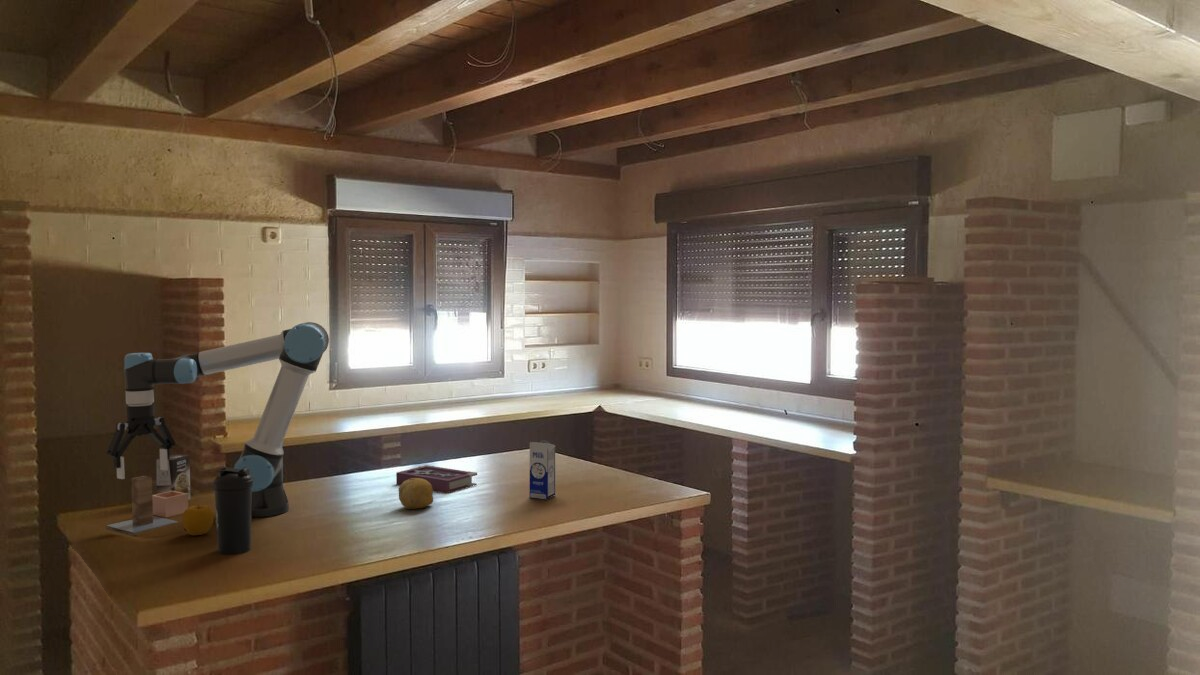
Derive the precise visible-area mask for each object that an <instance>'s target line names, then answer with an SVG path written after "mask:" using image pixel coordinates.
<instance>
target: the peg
mask: <svg viewBox="0 0 1200 675" xmlns="http://www.w3.org/2000/svg"><path fill="white" fill-rule="evenodd" d="M130 479H131V509H132V510H131V512H132V513H131V515H132V516H131V517H132V519H131V520H132V521H133V524H135V525H139V526H142V525H146V524H151V523H153V516H154V515H153V499H152V495H153V477H151V476H147V475H141V476H136V477H131V478H130Z"/></svg>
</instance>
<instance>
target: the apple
mask: <svg viewBox="0 0 1200 675" xmlns="http://www.w3.org/2000/svg"><path fill="white" fill-rule="evenodd" d="M214 515H215V514H214V511H213V509H212V507H210V505H208V504H207V505H206V504H200V505H192V506H188V508H187V509H186V510H185V511H184V513H183V514H182V518H181V521H182V525H183V528H184V529H185V530H186V532H187V533H188V534H189V535H191V536H193V537H195V536H201V535H205V534H207V533H208V532H209V531H210V529H211V527H212V525H213V524H214V518H215V516H214Z"/></svg>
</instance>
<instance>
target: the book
mask: <svg viewBox="0 0 1200 675" xmlns="http://www.w3.org/2000/svg"><path fill="white" fill-rule="evenodd" d="M476 476H478V472H475V471H471V470H470V471H469V470H460V469H455V468H454V469H453V468H447V467H440V466H434V465H429V464H424V465H421V466H420V465H419V466H418V467H414V468H410V469H405V470H402V471H397V472H396V480H395V481H396V485H398V486H400V485H401V484H402V483H403V482H404V481H406V480H408V479H411V478H421V479H425V480H427V481H428V482H429V483H430V484H431V485H432V488H433V492H440V493H445V494H451V493H453V492H456V491H460V490H464V489H466V487H467V488H471V487H474V486H477V485H478V484H477V483H476V482H473V479H472V478H473V477H476ZM473 485H474V486H473ZM470 486H471V487H470ZM463 488H464V489H463Z"/></svg>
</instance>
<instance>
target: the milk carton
mask: <svg viewBox="0 0 1200 675" xmlns="http://www.w3.org/2000/svg"><path fill="white" fill-rule="evenodd" d="M553 495H555V496H556V445H555V444H552V443H550V441H549V440H544V439H543V440H542V439H541V440H540V442H537V441H529V498H530V497H532V498H531V499H534V498H541V499H540V500H543V499H548V498H550V497H551V496H553ZM542 498H543V499H542ZM550 499H551V498H550ZM548 500H549V499H548Z"/></svg>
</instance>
